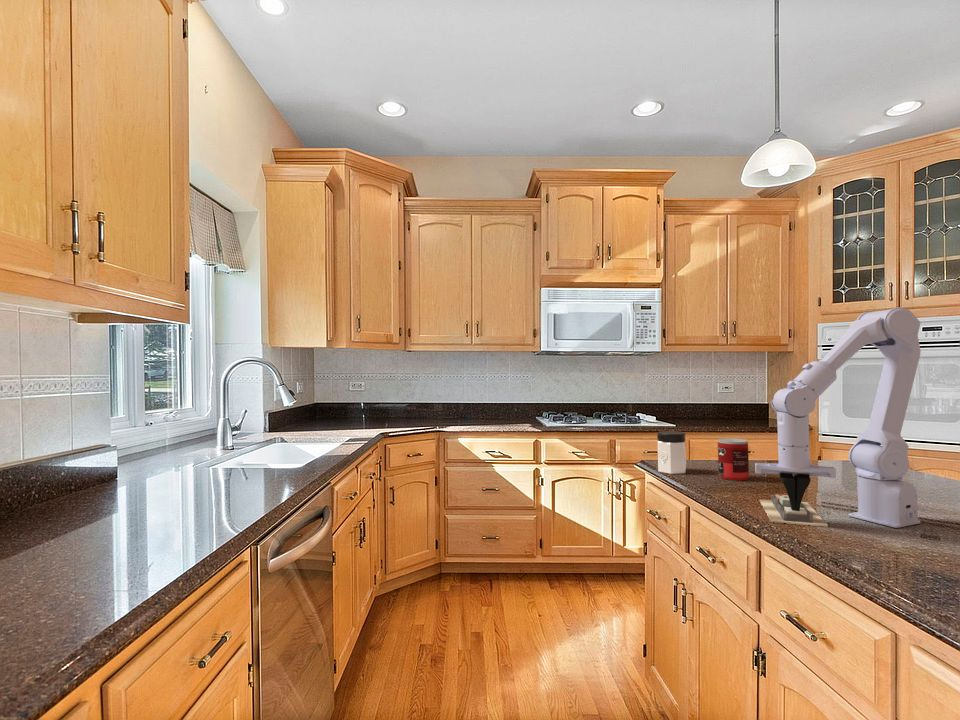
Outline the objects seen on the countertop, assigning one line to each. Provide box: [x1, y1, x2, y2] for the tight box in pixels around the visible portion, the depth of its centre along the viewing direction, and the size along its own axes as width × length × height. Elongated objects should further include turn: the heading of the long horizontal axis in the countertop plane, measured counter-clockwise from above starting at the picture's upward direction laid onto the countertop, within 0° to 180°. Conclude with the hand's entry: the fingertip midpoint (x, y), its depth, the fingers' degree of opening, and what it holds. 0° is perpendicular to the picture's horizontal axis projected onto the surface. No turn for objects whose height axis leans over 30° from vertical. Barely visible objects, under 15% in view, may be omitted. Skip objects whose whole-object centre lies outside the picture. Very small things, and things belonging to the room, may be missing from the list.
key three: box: [774, 494, 788, 500], centre depth 120 cm, size 4×4×2 cm
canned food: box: [717, 437, 750, 482], centre depth 150 cm, size 8×8×11 cm
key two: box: [779, 496, 801, 507], centre depth 115 cm, size 4×4×2 cm
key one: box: [784, 507, 807, 515], centre depth 110 cm, size 4×4×2 cm
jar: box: [656, 430, 687, 475], centre depth 161 cm, size 9×8×12 cm
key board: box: [758, 494, 829, 528], centre depth 115 cm, size 18×10×2 cm, turn 159°
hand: (795, 509), depth 110 cm, fingers closed, pressing on key one
